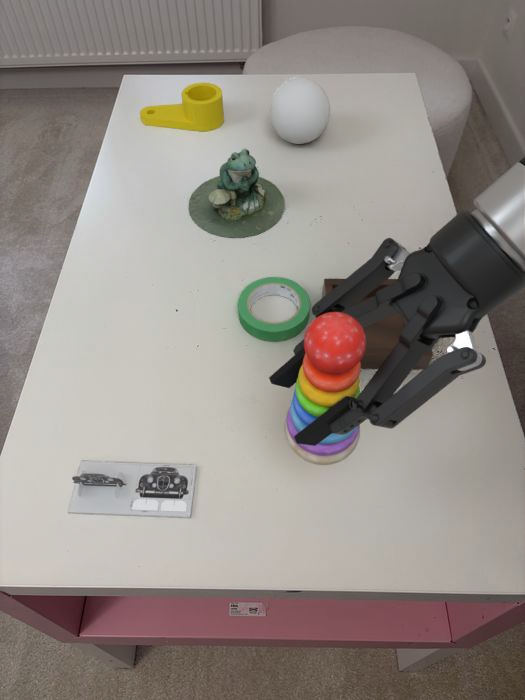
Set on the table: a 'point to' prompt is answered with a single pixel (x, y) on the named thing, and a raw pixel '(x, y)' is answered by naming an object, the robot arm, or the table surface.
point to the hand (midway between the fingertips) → (291, 410)
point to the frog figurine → (237, 200)
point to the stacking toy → (326, 384)
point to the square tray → (379, 332)
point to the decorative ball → (299, 110)
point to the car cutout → (133, 489)
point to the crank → (189, 110)
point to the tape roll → (274, 329)
